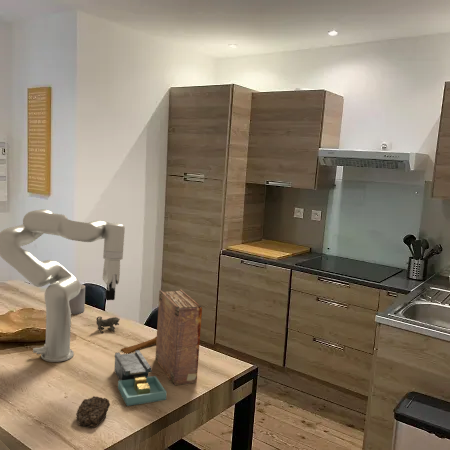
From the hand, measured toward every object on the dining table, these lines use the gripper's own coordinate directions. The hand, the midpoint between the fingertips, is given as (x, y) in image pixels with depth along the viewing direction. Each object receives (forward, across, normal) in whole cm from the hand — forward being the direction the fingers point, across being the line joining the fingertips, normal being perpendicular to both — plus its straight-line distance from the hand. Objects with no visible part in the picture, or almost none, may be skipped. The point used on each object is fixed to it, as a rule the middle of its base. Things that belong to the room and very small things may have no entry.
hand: (110, 299), depth 187 cm
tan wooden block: (+24, +24, +7) cm, 35 cm away
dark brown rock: (+27, +40, -12) cm, 49 cm away
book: (+26, +14, +25) cm, 39 cm away
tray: (+26, +29, +7) cm, 40 cm away
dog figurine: (+27, -36, +8) cm, 46 cm away
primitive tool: (+27, -11, +18) cm, 34 cm away
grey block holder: (+26, +15, +7) cm, 31 cm away
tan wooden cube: (+22, +30, +7) cm, 39 cm away
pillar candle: (+28, -67, -4) cm, 73 cm away
